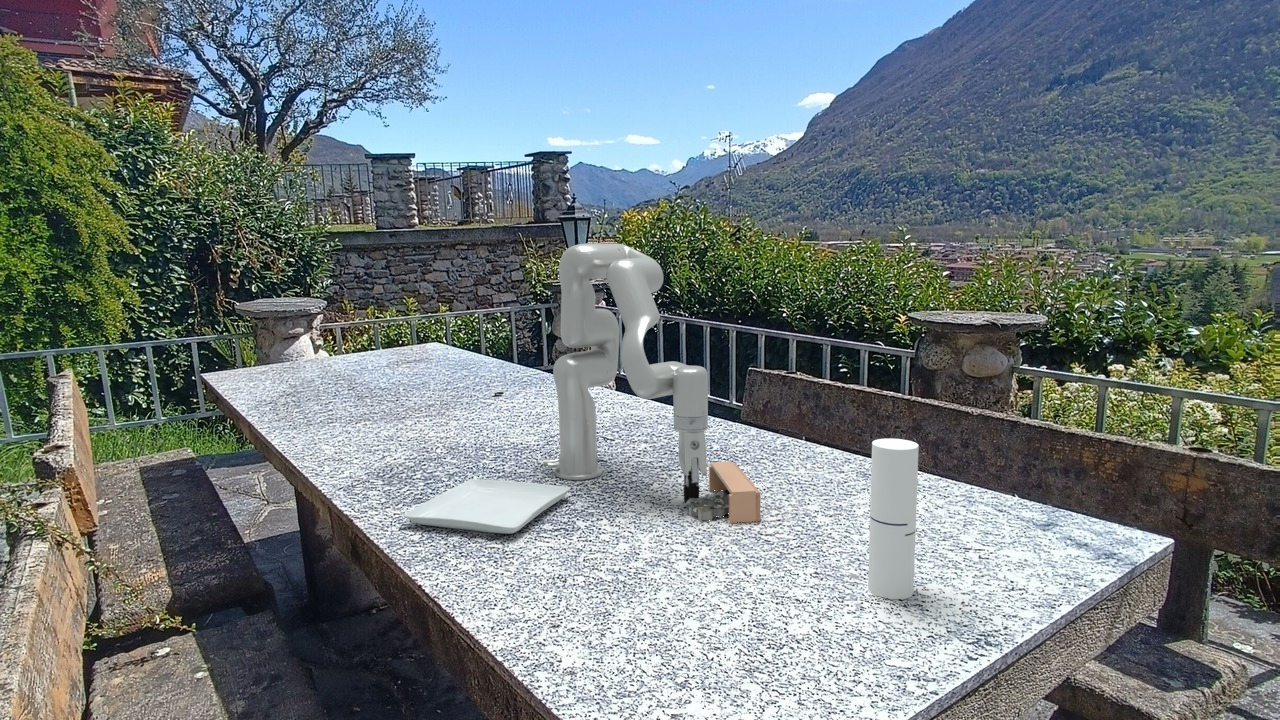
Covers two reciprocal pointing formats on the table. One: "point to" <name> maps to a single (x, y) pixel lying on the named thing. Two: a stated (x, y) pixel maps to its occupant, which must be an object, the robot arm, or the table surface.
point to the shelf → (736, 491)
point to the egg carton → (709, 506)
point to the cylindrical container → (893, 518)
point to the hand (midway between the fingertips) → (691, 502)
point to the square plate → (488, 505)
